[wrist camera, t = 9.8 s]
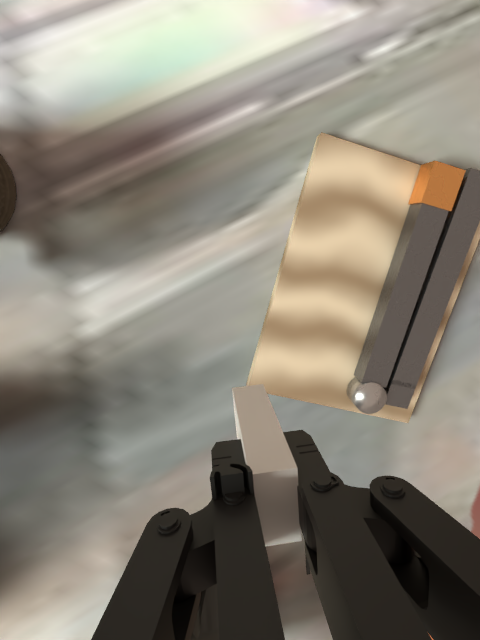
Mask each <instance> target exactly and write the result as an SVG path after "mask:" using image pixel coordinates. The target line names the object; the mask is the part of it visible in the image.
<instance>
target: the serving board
mask: <svg viewBox="0 0 480 640" xmlns="http://www.w3.org/2000/svg"><path fill="white" fill-rule="evenodd" d="M420 167H421V165H418V164H415V163H412V162H409V161H406V160H403V159H400V158H397V157H394V156H391V155H388V154H385V153H382V152H379V151H376V150H373V149H370V148H367V147H364V146H361V145H358V144H355V143H352V142H349V141H346V140H343V139H340V138H337V137H334V136H331V135H328V134H325V133H321V134H319V135H318V136H317V139H316V142H315V146H314V149H313V153H312V156H311V160H310V163H309V167H308V170H307V174H306V177H305V181H304V184H303V188H302V191H301V195H300V198H299V202H298V205H297V209H296V212H295V216H294V219H293V223H292V226H291V230H290V233H289V237H288V240H287V244H286V247H285V251H284V254H283V258H282V261H281V265H280V268H279V272H278V275H277V279H276V282H275V286H274V289H273V293H272V296H271V300H270V303H269V307H268V310H267V314H266V317H265V321H264V324H263V328H262V331H261V335H260V338H259V342H258V345H257V349H256V352H255V356H254V359H253V363H252V366H251V370H250V373H249V377H248V380H247V384H246V385H247V386H251V385H260V384H263V385H264V387H265V390H266V392H267V394H272V395H277V396H282V397H287V398H291V399H296V400H301V401H306V402H310V403H315V404H320V405H325V406H330V407H334V408H339V409H344V410H349V411H353V412H358V413H362V412H361V411H360V410H359V409H358V408H357V407H356V406H355V405H354V404H353V403H352V402H351V400H350V399H349V398H348V396H347V392H346V390H347V386H348V384H349V382H350V381H351V380H352V379H353V378H354V377H355V376H354V372H355V369H356V366H357V363H358V360H359V357H360V354H361V351H362V348H363V345H364V342H365V339H366V336H367V333H368V330H369V327H370V324H371V321H372V318H373V315H374V312H375V309H376V306H377V303H378V300H379V297H380V294H381V291H382V288H383V285H384V282H385V279H386V276H387V273H388V270H389V267H390V264H391V261H392V258H393V255H394V252H395V249H396V246H397V243H398V240H399V237H400V234H401V231H402V228H403V225H404V222H405V219H406V216H407V213H408V210H409V207H410V205H409V204H408V203H409V200H410V197H411V194H412V191H413V188H414V185H415V182H416V179H417V176H418V173H419V170H420ZM479 240H480V222H479V225H478V227H477V230H476V232H475V235H474V238H473V240H472V243H471V245H470V248H469V251H468V253H467V256H466V258H465V261H464V264H463V266H462V269H461V271H460V274H459V277H458V279H457V282H456V284H455V287H454V290H453V292H452V295H451V297H450V300H449V303H448V305H447V308H446V310H445V313H444V316H443V318H442V321H441V323H440V326H439V329H438V331H437V334H436V336H435V339H434V342H433V344H432V347H431V349H430V352H429V354H428V357H427V360H426V362H425V365H424V367H423V370H422V373H421V375H420V378H419V380H418V383H417V386H416V388H415V391H414V393H413V396H412V399H411V401H410V404H409V406H408V409H405V408H400V407H395V406H391V405H386V404H385V405H384V407H383V408H382V409H381V410H380V411H378V412H376V413H373V414H368V415H372V416H377V417H382V418H387V419H392V420H396V421H401V422H406V423H408V422H409V420H410V417H411V415H412V412H413V409H414V407H415V404H416V402H417V399H418V397H419V394H420V391H421V389H422V386H423V384H424V381H425V379H426V376H427V373H428V371H429V368H430V366H431V363H432V361H433V358H434V355H435V353H436V350H437V348H438V345H439V343H440V340H441V337H442V335H443V332H444V330H445V327H446V324H447V322H448V319H449V317H450V314H451V312H452V309H453V306H454V304H455V301H456V299H457V296H458V294H459V291H460V288H461V286H462V283H463V281H464V278H465V276H466V273H467V270H468V268H469V265H470V263H471V260H472V258H473V255H474V252H475V250H476V247H477V245H478V242H479ZM363 414H365V413H363Z"/></svg>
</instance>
